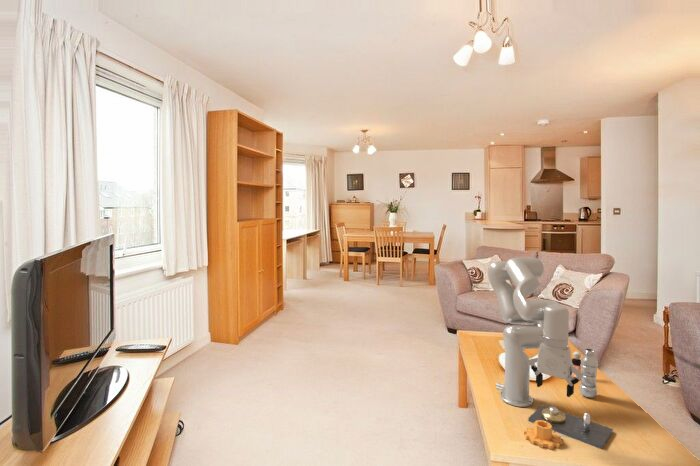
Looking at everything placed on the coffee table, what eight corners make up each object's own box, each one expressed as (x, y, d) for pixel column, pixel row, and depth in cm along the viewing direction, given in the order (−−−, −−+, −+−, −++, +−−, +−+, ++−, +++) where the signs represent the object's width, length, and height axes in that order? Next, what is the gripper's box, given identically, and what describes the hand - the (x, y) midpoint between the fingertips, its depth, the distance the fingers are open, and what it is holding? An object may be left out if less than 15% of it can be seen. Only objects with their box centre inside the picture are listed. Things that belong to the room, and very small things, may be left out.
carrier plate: (528, 420, 146) (528, 402, 145) (542, 407, 155) (542, 390, 155) (602, 449, 128) (602, 428, 128) (612, 432, 138) (613, 412, 137)
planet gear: (518, 438, 135) (519, 424, 134) (532, 425, 143) (532, 411, 142) (554, 453, 126) (555, 438, 126) (566, 438, 134) (567, 424, 134)
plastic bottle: (577, 396, 164) (578, 350, 163) (581, 390, 169) (583, 346, 168) (594, 401, 160) (596, 354, 159) (599, 395, 165) (600, 350, 163)
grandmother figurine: (568, 378, 181) (569, 352, 180) (566, 375, 185) (567, 349, 184) (587, 380, 179) (588, 353, 179) (584, 377, 183) (585, 350, 182)
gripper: (525, 338, 136) (524, 385, 137) (579, 351, 123) (578, 403, 124) (534, 333, 141) (533, 379, 142) (587, 345, 128) (586, 396, 129)
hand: (554, 390), depth 133 cm, fingers open, 9 cm apart
